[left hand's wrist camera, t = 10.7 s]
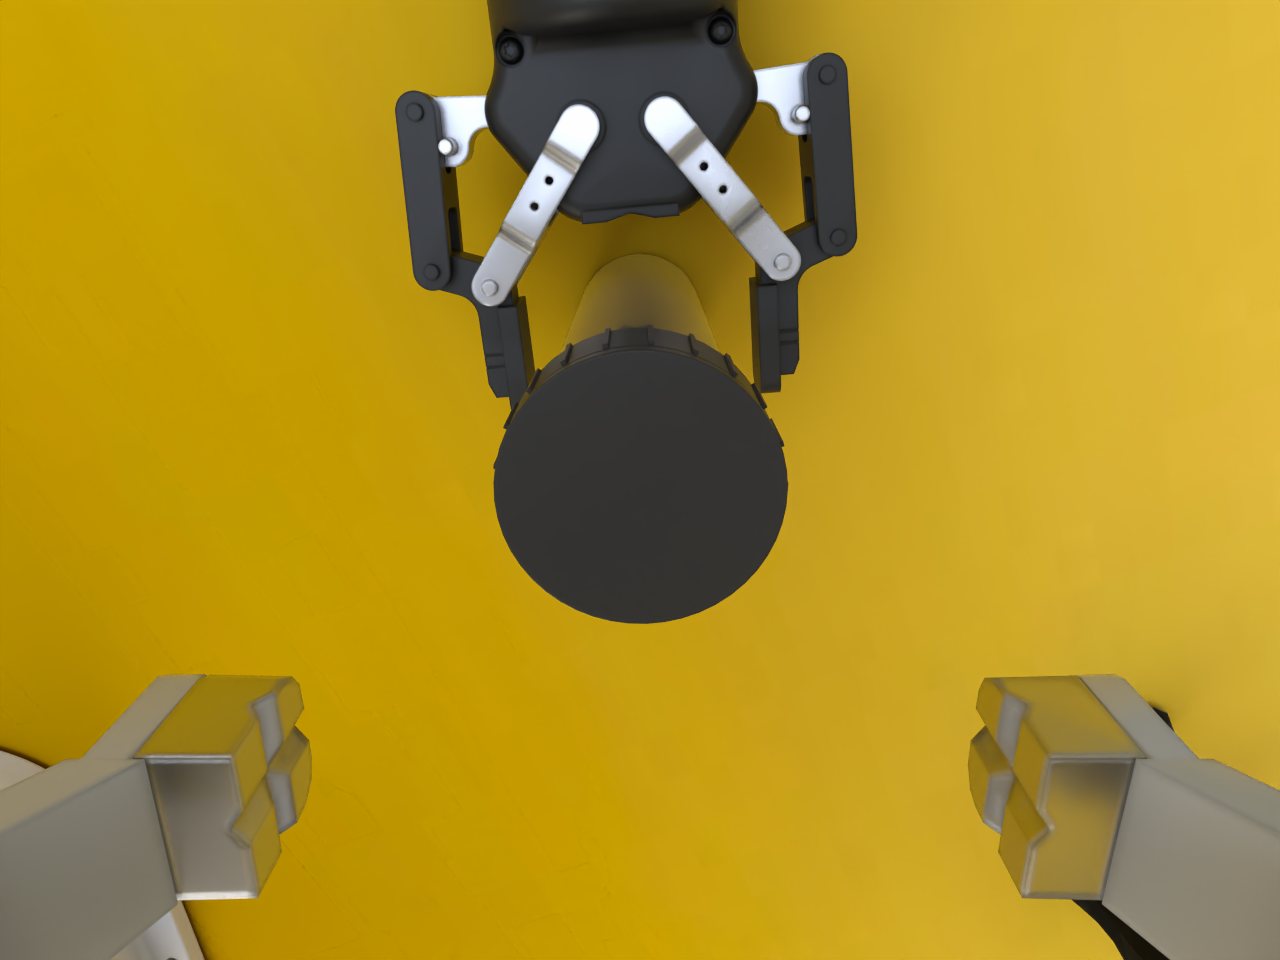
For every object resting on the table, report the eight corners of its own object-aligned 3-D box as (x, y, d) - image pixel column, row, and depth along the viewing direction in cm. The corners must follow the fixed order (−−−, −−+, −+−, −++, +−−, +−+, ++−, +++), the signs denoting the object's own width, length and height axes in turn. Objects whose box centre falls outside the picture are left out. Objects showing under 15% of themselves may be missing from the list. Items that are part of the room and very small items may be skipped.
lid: (735, 286, 18) (747, 304, 16) (804, 538, 20) (823, 583, 18) (466, 371, 19) (444, 398, 17) (559, 607, 21) (550, 658, 19)
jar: (680, 237, 35) (726, 333, 17) (714, 354, 37) (789, 559, 18) (563, 275, 36) (481, 409, 17) (602, 388, 37) (565, 622, 19)
